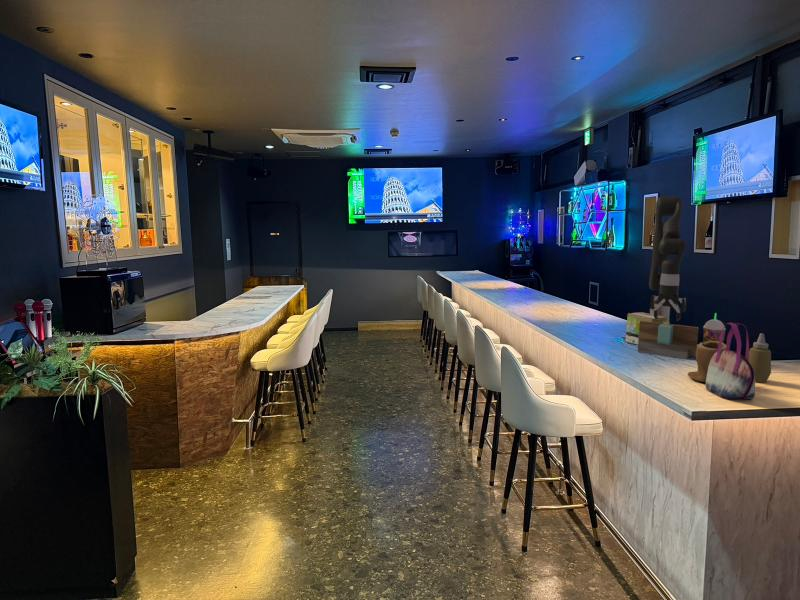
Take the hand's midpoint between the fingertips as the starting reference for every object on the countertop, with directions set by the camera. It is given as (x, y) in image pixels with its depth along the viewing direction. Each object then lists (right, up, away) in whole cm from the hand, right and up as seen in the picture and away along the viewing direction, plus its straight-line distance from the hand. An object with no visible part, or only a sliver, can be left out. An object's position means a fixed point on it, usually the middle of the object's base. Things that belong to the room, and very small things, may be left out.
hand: (666, 319), depth 235 cm
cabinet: (0, -13, +2) cm, 13 cm away
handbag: (-6, -24, -54) cm, 60 cm away
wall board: (0, -15, +3) cm, 16 cm away
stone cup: (-3, -22, -39) cm, 45 cm away
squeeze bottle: (+15, -22, -38) cm, 46 cm away
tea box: (0, -13, +22) cm, 25 cm away
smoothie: (+17, -17, -5) cm, 25 cm away
